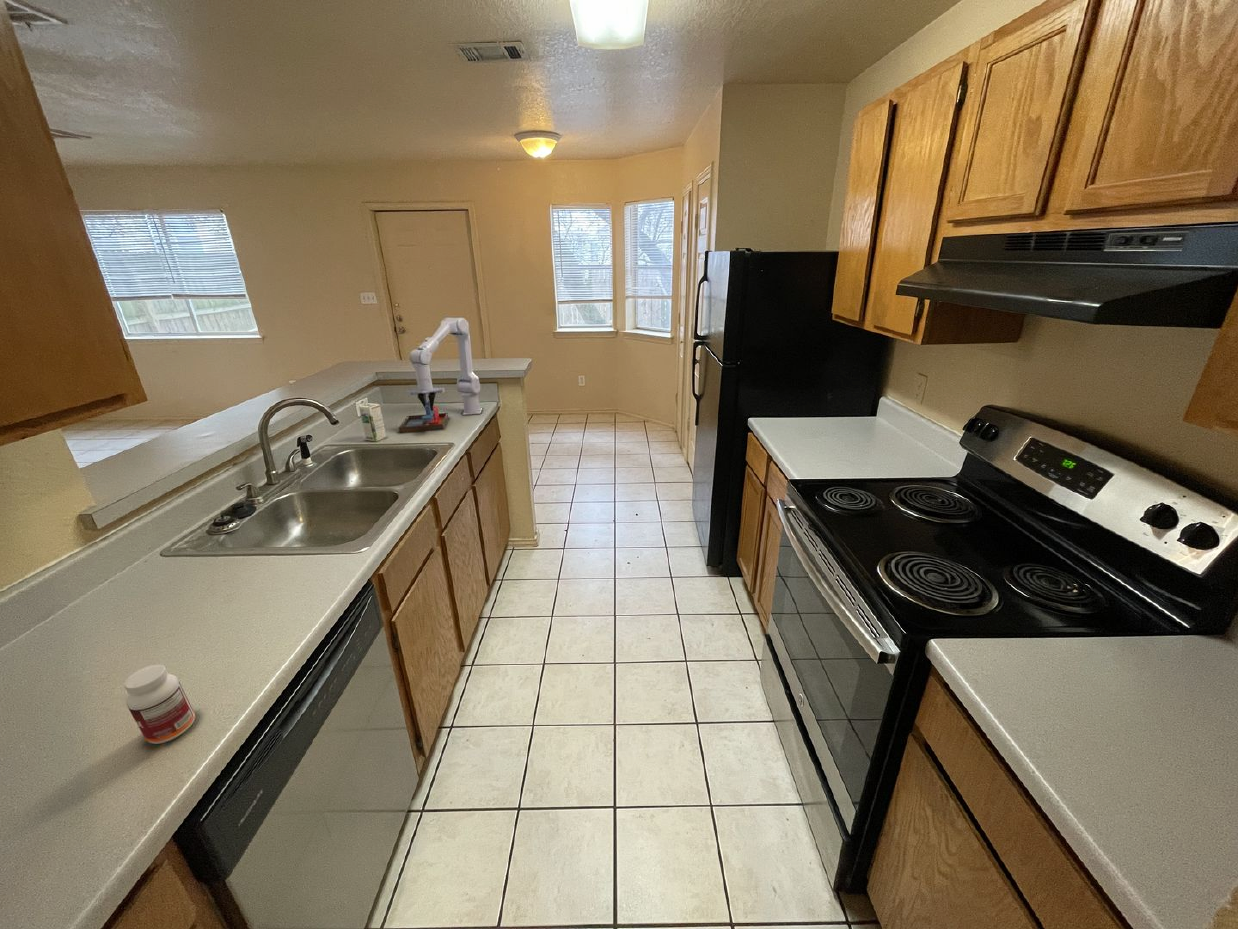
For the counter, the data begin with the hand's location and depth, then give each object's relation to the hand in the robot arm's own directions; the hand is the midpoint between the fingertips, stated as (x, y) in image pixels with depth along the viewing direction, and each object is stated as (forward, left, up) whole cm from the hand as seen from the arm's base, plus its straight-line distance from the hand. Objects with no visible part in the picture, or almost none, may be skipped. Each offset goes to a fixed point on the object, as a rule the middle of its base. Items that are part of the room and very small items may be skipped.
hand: (429, 410), depth 215 cm
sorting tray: (-7, -4, -8) cm, 12 cm away
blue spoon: (+2, 0, -3) cm, 3 cm away
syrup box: (+7, -21, -9) cm, 24 cm away
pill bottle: (+149, -16, -9) cm, 150 cm away
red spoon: (-8, 0, -8) cm, 11 cm away
